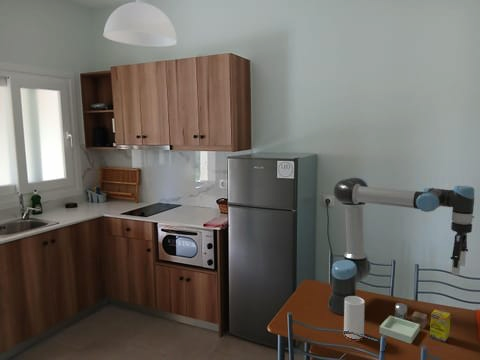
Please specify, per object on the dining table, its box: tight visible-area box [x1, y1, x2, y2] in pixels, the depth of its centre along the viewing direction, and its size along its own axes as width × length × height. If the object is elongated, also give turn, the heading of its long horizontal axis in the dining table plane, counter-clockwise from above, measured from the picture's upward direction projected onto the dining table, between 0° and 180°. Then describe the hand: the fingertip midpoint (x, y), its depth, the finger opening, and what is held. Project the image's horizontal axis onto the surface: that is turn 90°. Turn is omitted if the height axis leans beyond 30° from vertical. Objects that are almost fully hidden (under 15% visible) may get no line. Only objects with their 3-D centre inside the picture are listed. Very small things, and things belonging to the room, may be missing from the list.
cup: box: [343, 295, 365, 339], centre depth 155 cm, size 8×8×16 cm
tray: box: [379, 315, 421, 345], centre depth 157 cm, size 13×13×3 cm
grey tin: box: [394, 302, 408, 321], centre depth 168 cm, size 5×5×7 cm
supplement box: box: [429, 308, 451, 343], centre depth 152 cm, size 6×6×11 cm
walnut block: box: [411, 311, 428, 330], centre depth 162 cm, size 5×5×5 cm
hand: (458, 269), depth 155 cm, fingers open, 13 cm apart
